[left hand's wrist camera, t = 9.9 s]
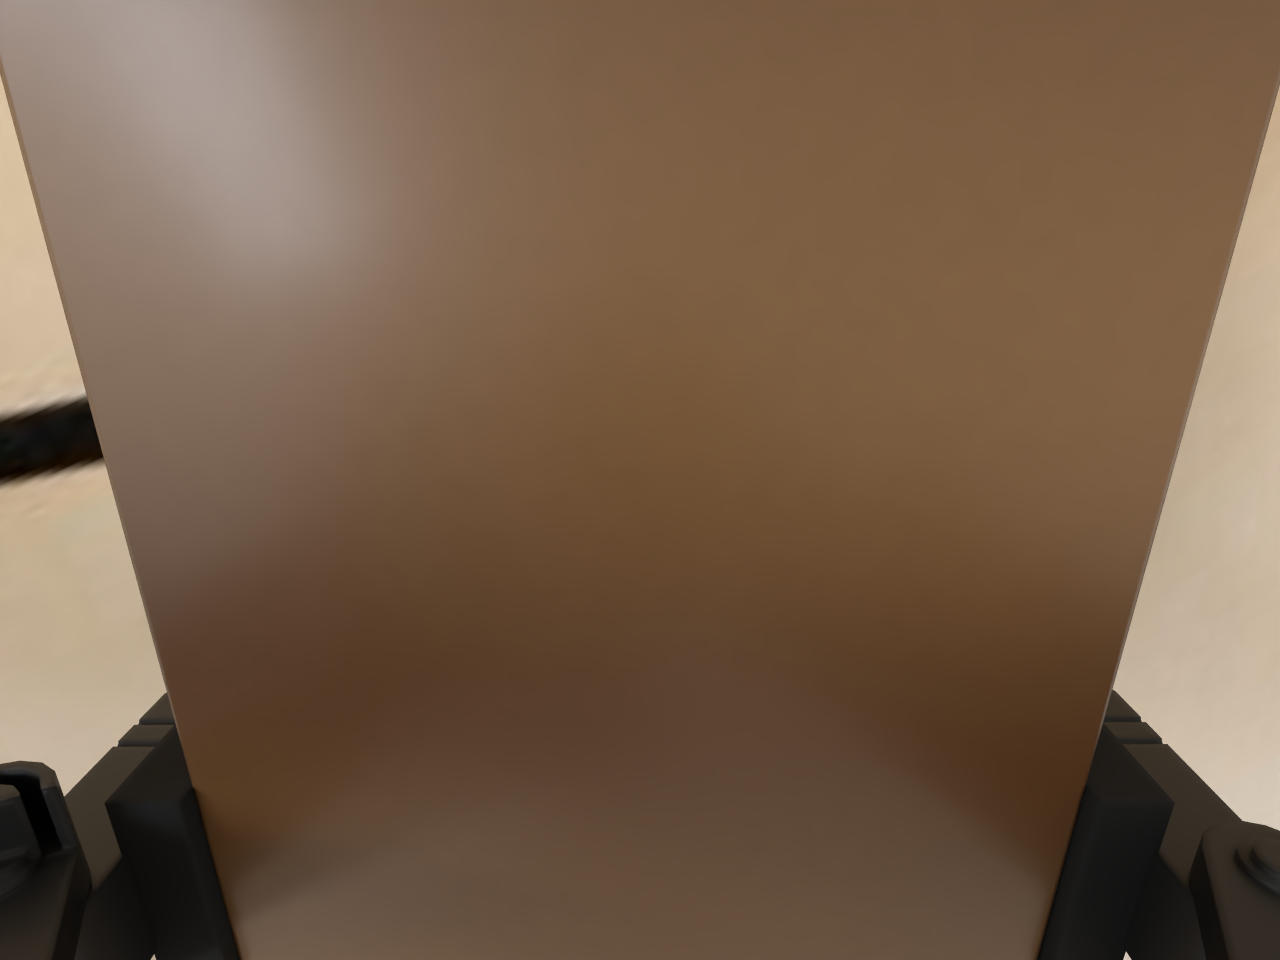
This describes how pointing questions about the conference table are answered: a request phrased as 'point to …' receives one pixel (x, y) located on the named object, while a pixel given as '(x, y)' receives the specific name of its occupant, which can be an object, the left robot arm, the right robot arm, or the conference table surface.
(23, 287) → the conference table surface
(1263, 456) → the conference table surface
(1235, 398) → the conference table surface
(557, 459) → the brown wooden beam
